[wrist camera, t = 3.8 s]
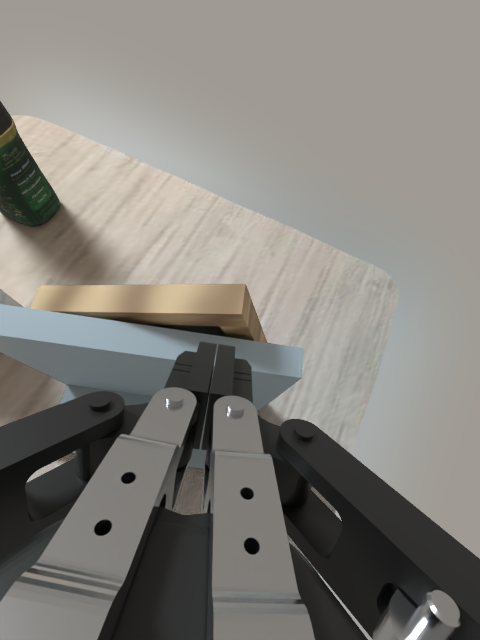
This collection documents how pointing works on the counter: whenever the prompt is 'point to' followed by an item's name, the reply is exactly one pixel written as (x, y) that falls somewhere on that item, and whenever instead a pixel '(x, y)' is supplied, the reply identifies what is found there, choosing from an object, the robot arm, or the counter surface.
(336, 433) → the counter surface
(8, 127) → the coffee jar
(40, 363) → the bookend
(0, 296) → the supplement box
